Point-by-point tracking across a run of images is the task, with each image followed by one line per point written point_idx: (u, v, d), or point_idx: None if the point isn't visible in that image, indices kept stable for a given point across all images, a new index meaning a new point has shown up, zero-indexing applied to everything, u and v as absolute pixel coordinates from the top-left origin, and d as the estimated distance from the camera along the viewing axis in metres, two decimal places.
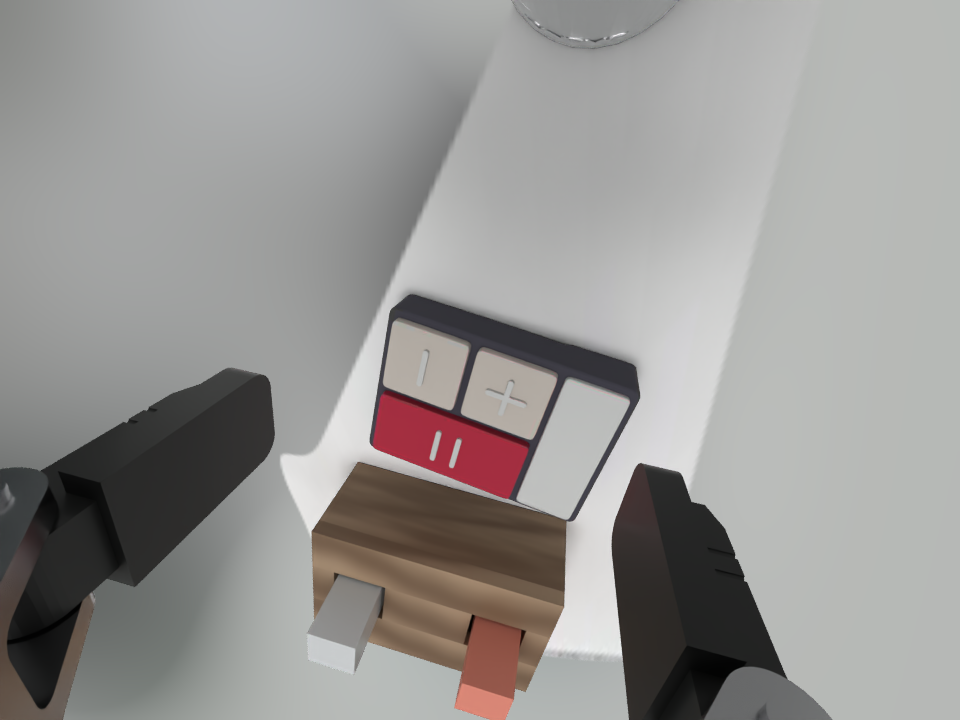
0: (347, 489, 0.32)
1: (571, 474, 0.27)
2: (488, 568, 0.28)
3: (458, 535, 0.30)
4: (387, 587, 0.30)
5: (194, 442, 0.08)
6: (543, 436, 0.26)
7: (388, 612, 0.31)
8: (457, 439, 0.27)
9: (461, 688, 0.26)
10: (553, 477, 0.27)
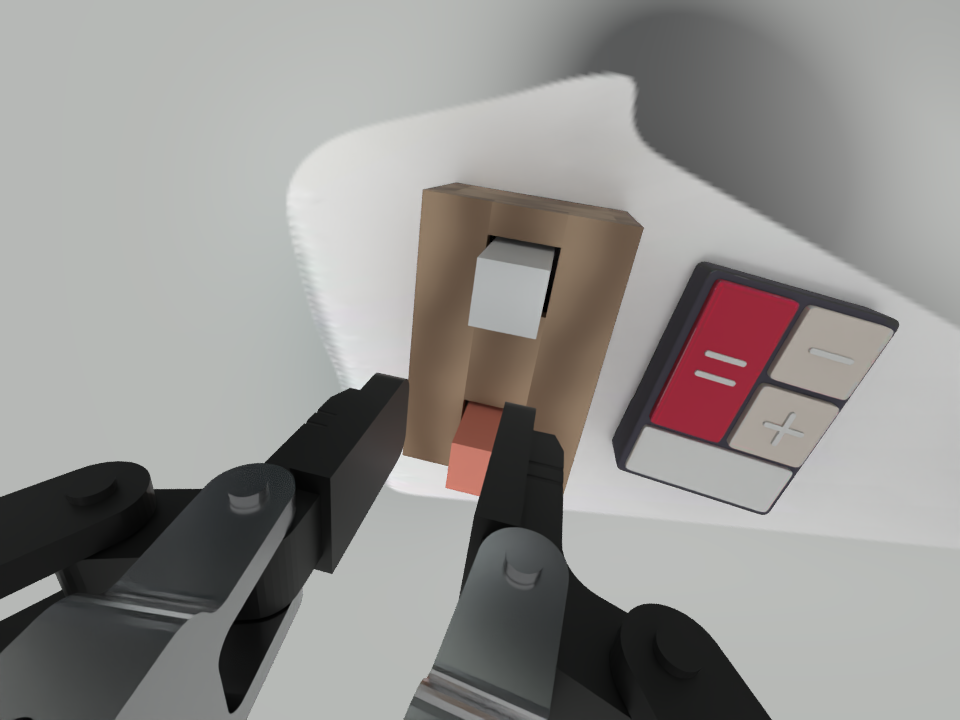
0: None
1: (684, 473, 0.30)
2: None
3: None
4: (547, 321, 0.23)
5: (371, 442, 0.08)
6: (730, 453, 0.29)
7: None
8: (735, 382, 0.26)
9: None
10: (680, 459, 0.29)
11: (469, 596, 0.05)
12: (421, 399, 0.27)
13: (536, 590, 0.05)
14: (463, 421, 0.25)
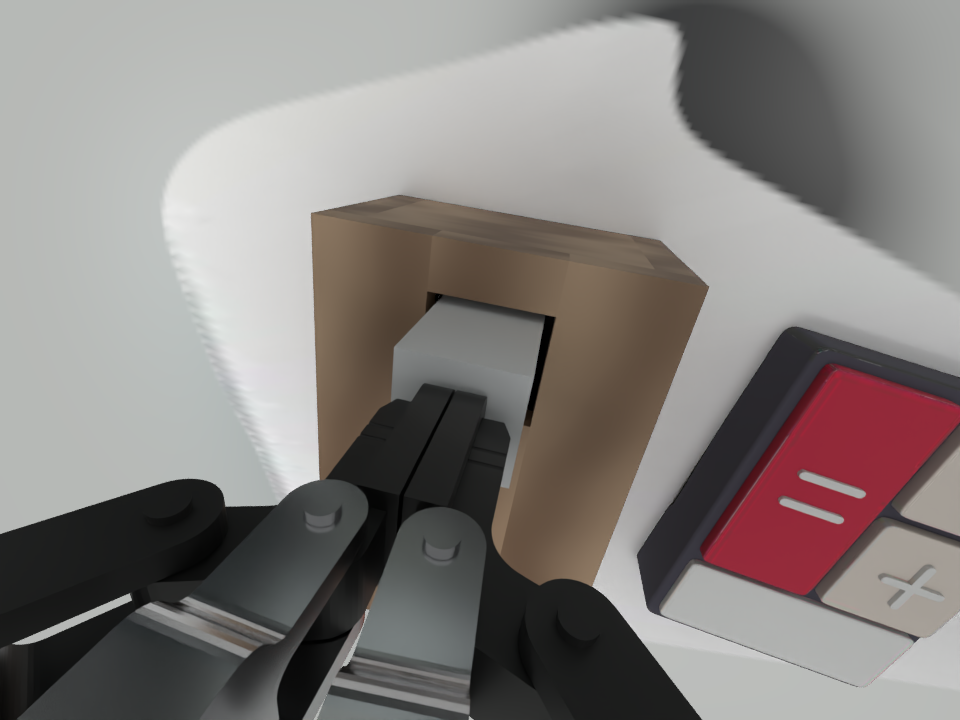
0: None
1: (747, 628, 0.20)
2: None
3: None
4: (533, 431, 0.14)
5: None
6: (820, 609, 0.19)
7: None
8: (842, 519, 0.17)
9: None
10: (742, 610, 0.20)
11: (389, 580, 0.05)
12: None
13: (450, 565, 0.05)
14: None
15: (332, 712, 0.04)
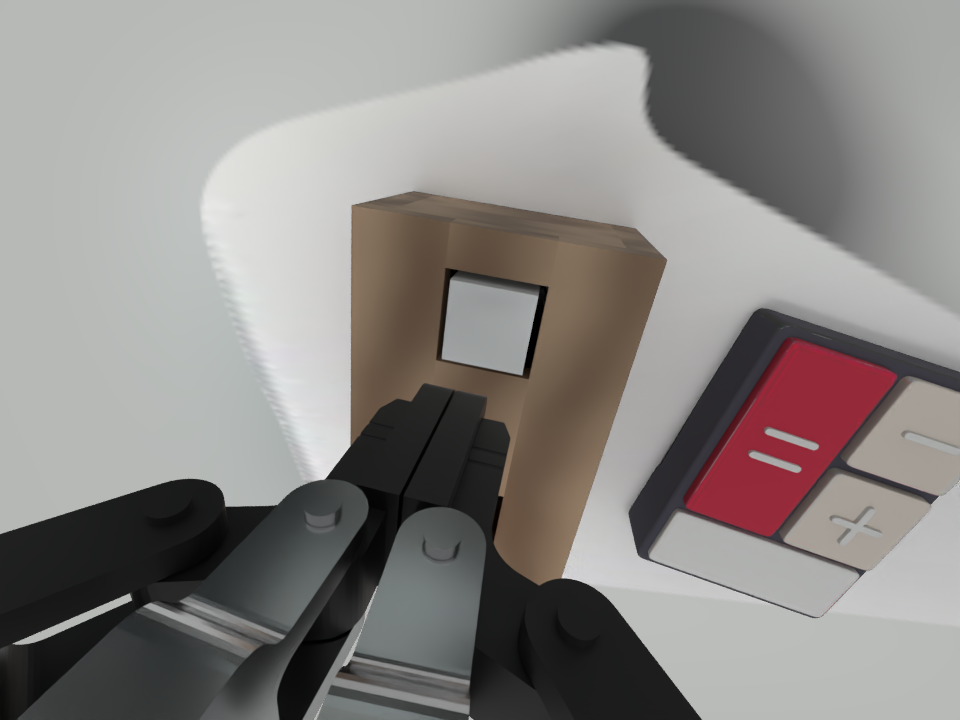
0: None
1: (722, 568, 0.24)
2: None
3: None
4: (531, 383, 0.17)
5: None
6: (783, 549, 0.23)
7: (460, 374, 0.17)
8: (800, 468, 0.20)
9: None
10: (718, 552, 0.23)
11: (389, 580, 0.05)
12: None
13: (450, 565, 0.05)
14: None
15: (331, 713, 0.04)
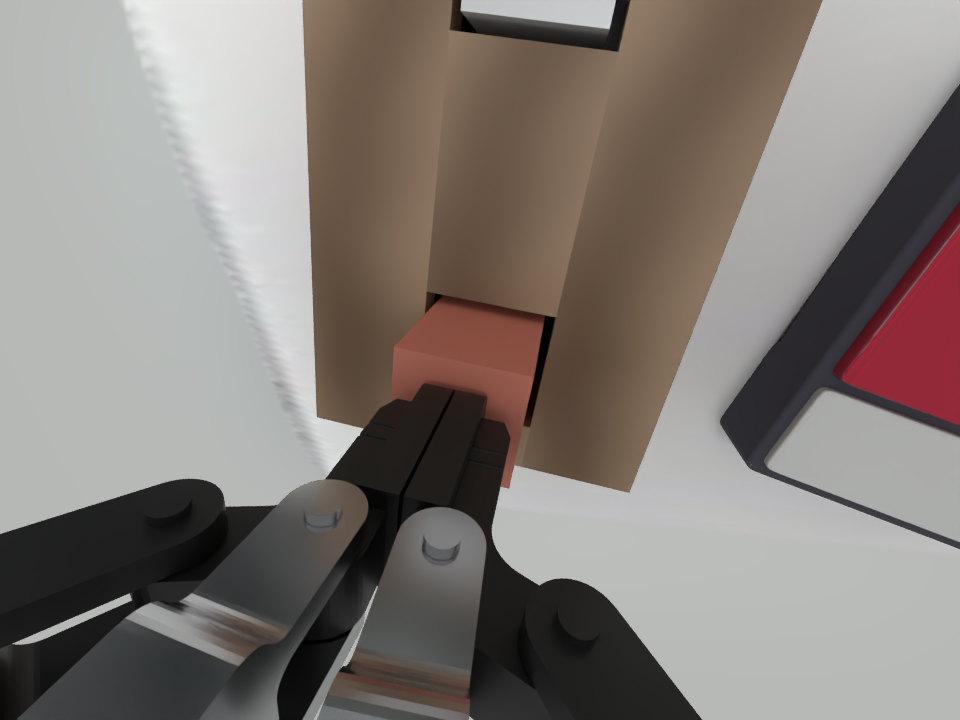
0: None
1: (881, 482, 0.16)
2: None
3: None
4: (622, 60, 0.09)
5: None
6: None
7: (492, 58, 0.10)
8: None
9: (505, 374, 0.09)
10: (879, 456, 0.16)
11: (389, 580, 0.05)
12: (341, 296, 0.13)
13: (450, 565, 0.05)
14: (428, 316, 0.12)
15: (331, 713, 0.04)
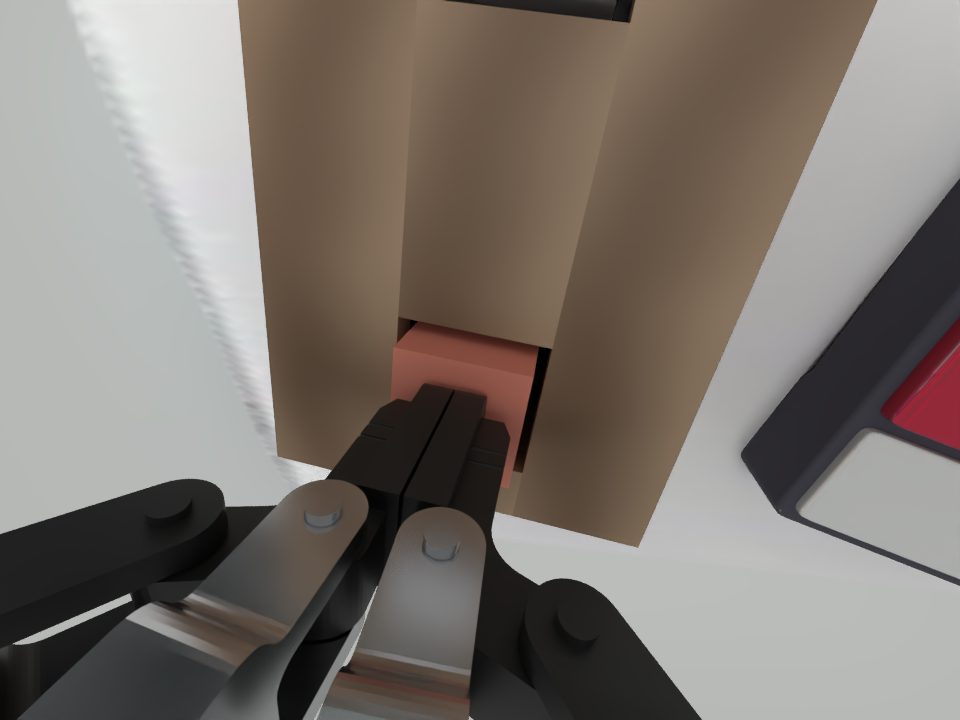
0: None
1: (930, 534, 0.14)
2: None
3: None
4: (635, 34, 0.07)
5: None
6: None
7: (470, 32, 0.08)
8: None
9: (505, 374, 0.09)
10: (929, 506, 0.14)
11: (389, 580, 0.05)
12: (298, 321, 0.11)
13: (450, 565, 0.05)
14: None
15: (331, 713, 0.04)
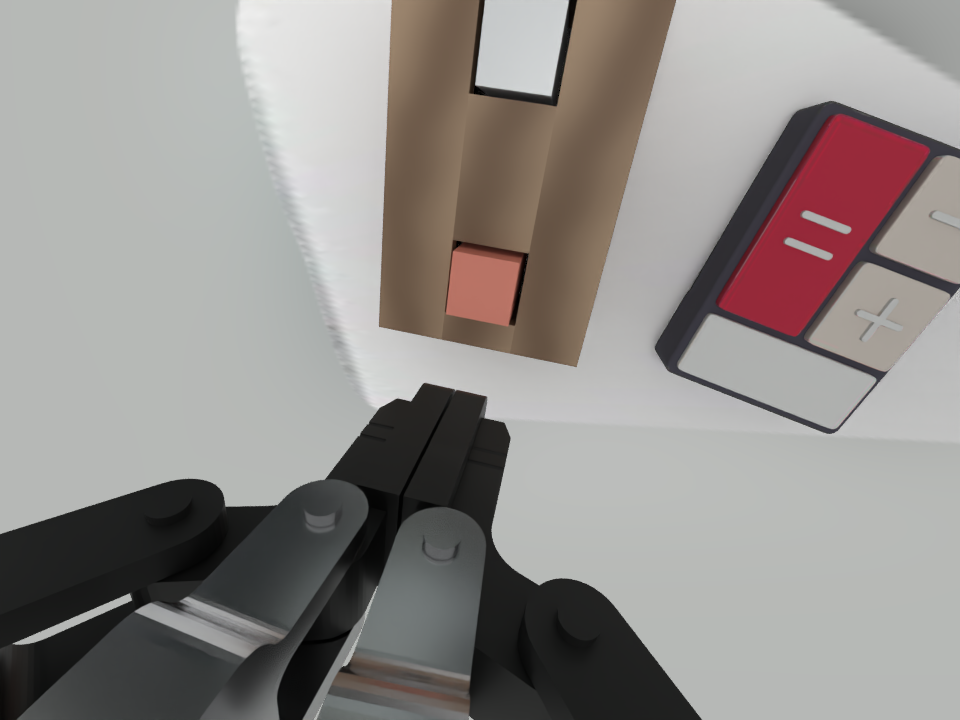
0: None
1: (748, 376, 0.25)
2: None
3: None
4: (559, 110, 0.18)
5: None
6: (807, 352, 0.24)
7: (491, 108, 0.19)
8: (832, 255, 0.22)
9: (506, 262, 0.20)
10: (745, 358, 0.25)
11: (389, 580, 0.05)
12: (400, 244, 0.22)
13: (450, 565, 0.05)
14: (465, 243, 0.22)
15: (332, 712, 0.04)
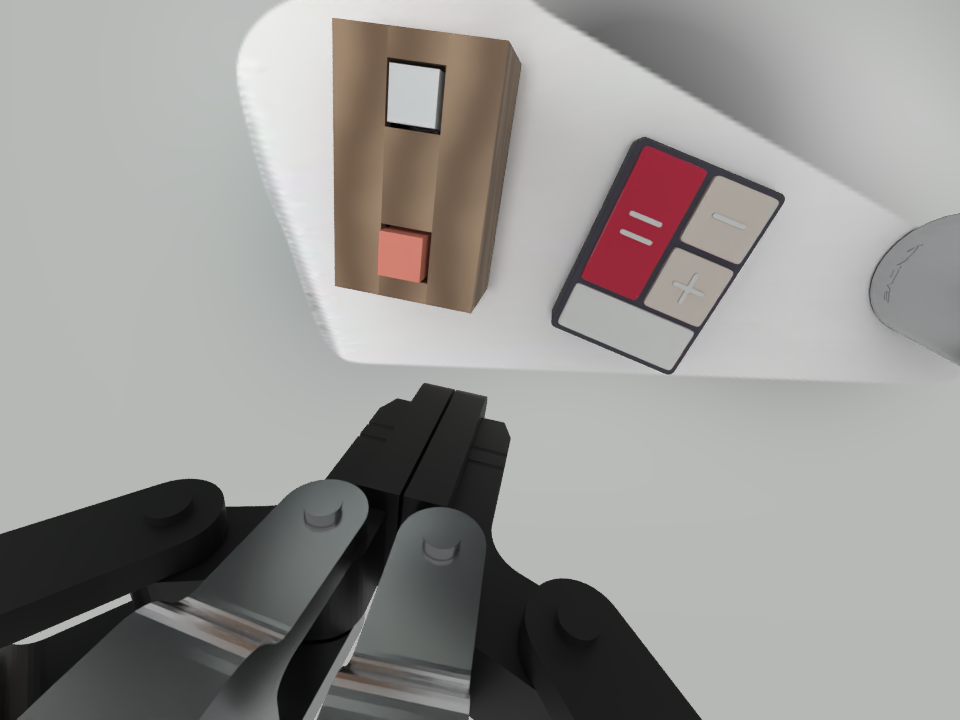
0: (515, 64, 0.29)
1: (606, 329, 0.35)
2: (483, 243, 0.31)
3: (492, 204, 0.32)
4: (442, 137, 0.28)
5: None
6: (644, 311, 0.34)
7: (399, 135, 0.28)
8: (651, 241, 0.31)
9: (414, 237, 0.30)
10: (603, 316, 0.34)
11: (389, 580, 0.05)
12: (346, 226, 0.32)
13: (450, 565, 0.05)
14: (392, 226, 0.32)
15: (332, 712, 0.04)
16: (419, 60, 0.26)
